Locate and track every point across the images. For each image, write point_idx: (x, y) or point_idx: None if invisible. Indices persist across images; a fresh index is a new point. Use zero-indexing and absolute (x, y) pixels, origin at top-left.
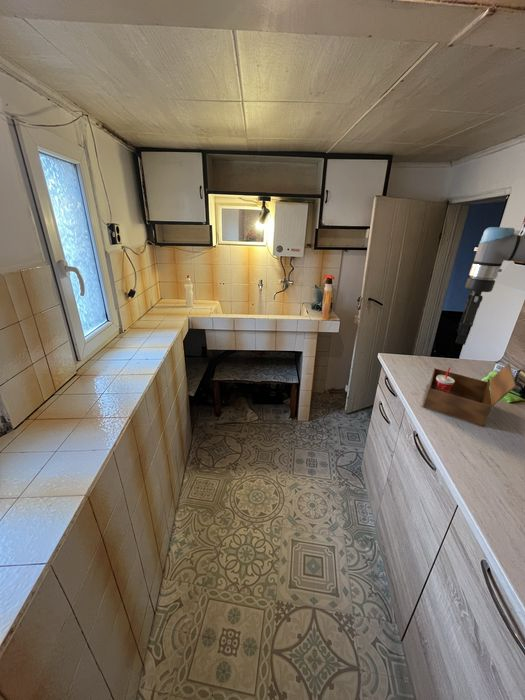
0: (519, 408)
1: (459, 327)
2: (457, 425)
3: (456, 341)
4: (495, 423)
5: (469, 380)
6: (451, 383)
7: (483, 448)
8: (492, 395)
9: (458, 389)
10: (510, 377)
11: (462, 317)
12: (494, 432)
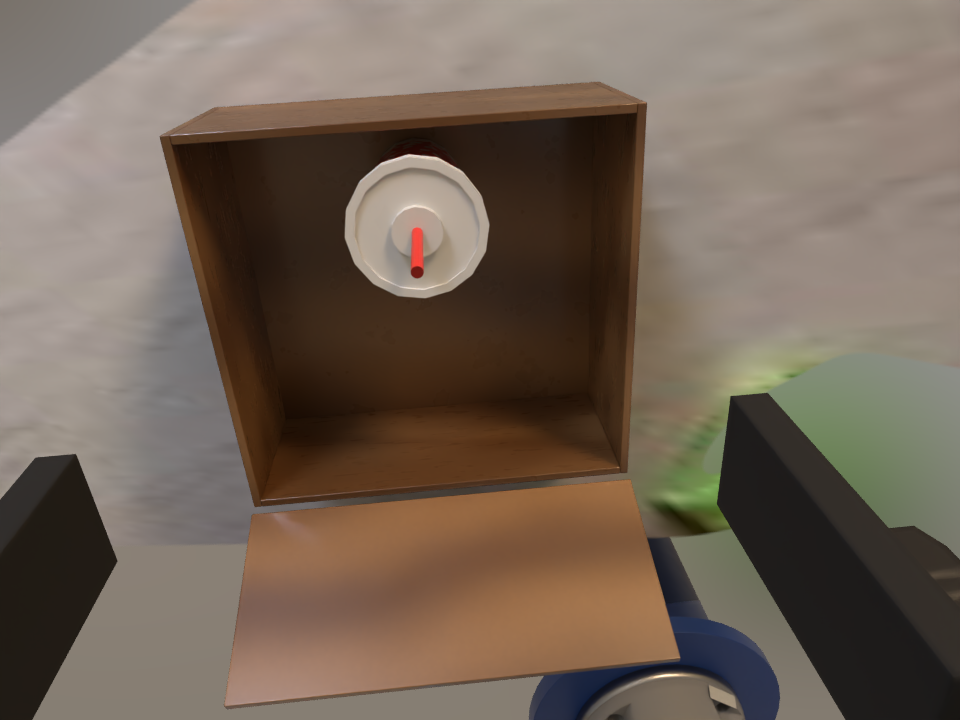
0: None
1: (771, 466)
2: (175, 320)
3: (22, 483)
4: None
5: (619, 363)
6: (372, 280)
7: (71, 437)
8: (367, 513)
9: (597, 285)
10: (404, 671)
11: (911, 642)
12: None
